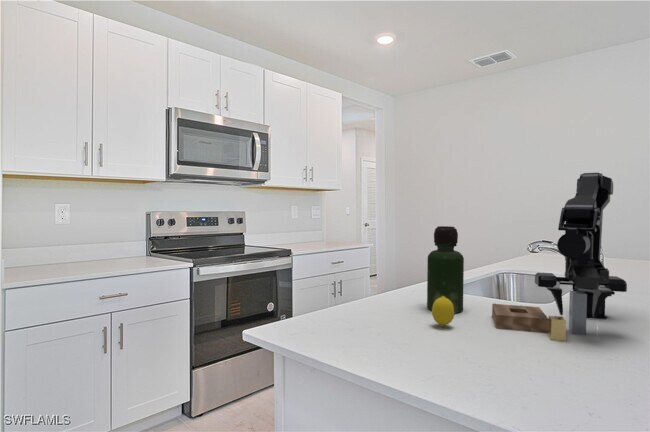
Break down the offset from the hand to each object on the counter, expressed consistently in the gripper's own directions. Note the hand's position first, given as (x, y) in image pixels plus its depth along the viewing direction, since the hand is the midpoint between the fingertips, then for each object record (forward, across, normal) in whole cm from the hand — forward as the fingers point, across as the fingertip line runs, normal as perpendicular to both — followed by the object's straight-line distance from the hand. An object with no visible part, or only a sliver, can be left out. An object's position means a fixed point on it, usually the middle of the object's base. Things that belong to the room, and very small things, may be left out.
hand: (577, 316), depth 101 cm
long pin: (+4, 0, 0) cm, 4 cm away
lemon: (+4, -32, -6) cm, 33 cm away
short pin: (+4, -6, -7) cm, 10 cm away
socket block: (+4, -13, +3) cm, 14 cm away
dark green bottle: (+4, -32, +12) cm, 34 cm away
